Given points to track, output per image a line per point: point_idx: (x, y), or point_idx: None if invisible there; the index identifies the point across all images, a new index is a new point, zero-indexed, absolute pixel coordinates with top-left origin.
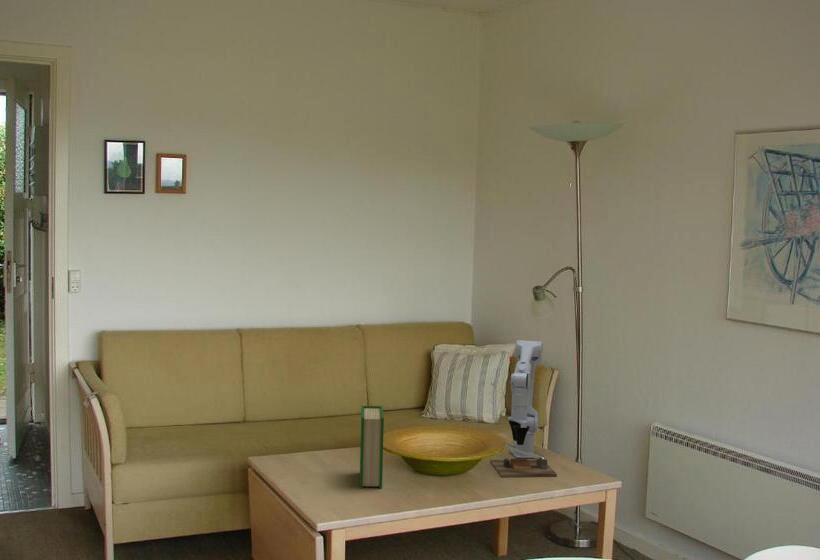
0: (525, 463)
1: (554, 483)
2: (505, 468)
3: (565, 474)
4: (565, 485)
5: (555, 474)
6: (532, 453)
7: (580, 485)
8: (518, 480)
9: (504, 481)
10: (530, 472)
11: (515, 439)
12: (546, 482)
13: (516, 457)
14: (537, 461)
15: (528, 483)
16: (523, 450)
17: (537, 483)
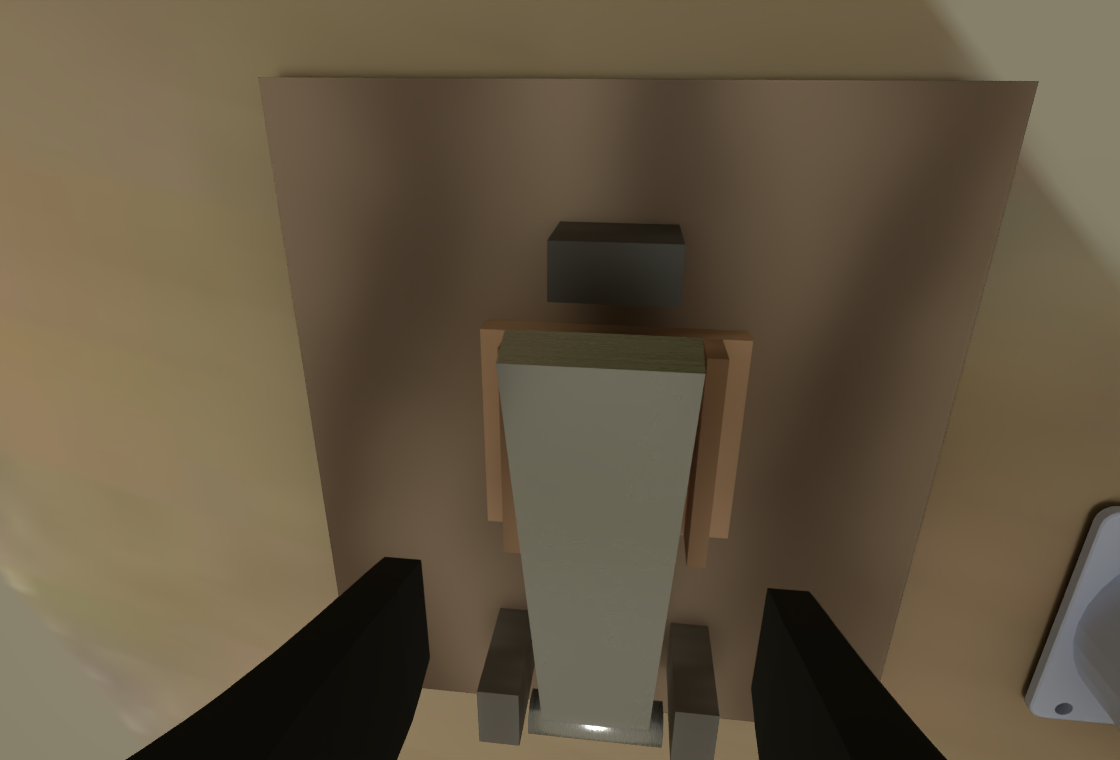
0: (504, 493)
1: (157, 579)
2: (543, 215)
3: (434, 740)
4: (120, 639)
5: None
6: (624, 678)
7: (146, 732)
8: (186, 273)
9: (113, 82)
10: (376, 470)
11: (770, 642)
12: (172, 526)
13: (1105, 511)
14: (671, 652)
15: (102, 351)
16: (603, 599)
17: (123, 438)
